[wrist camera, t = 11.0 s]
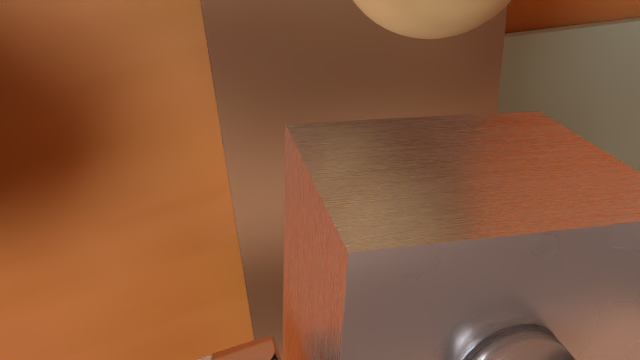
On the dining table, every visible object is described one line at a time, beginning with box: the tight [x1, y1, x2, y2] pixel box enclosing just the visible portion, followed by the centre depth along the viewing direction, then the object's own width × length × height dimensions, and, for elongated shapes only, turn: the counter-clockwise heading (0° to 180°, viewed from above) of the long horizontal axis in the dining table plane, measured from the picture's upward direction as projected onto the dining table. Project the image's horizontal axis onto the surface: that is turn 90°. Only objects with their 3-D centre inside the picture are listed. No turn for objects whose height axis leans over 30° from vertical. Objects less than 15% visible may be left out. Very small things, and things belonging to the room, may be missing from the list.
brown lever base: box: [200, 0, 511, 360], centre depth 15 cm, size 24×7×10 cm, turn 4°
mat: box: [497, 17, 640, 172], centre depth 20 cm, size 9×7×1 cm
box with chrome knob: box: [283, 111, 640, 360], centre depth 9 cm, size 6×4×4 cm
